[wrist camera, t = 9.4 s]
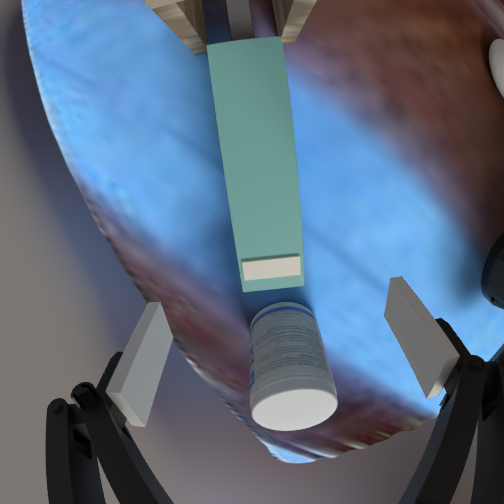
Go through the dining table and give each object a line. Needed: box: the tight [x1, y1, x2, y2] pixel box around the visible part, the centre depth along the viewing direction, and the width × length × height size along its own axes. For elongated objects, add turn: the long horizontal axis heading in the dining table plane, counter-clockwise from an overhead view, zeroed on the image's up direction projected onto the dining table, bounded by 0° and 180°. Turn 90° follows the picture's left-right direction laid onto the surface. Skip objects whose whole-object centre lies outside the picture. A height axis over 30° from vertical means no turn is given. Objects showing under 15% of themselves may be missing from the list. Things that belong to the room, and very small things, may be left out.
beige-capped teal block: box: [207, 37, 304, 292], centre depth 23 cm, size 5×19×11 cm, turn 7°
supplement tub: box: [250, 302, 337, 431], centre depth 32 cm, size 10×10×15 cm
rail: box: [226, 0, 254, 41], centre depth 26 cm, size 2×32×1 cm, turn 7°
